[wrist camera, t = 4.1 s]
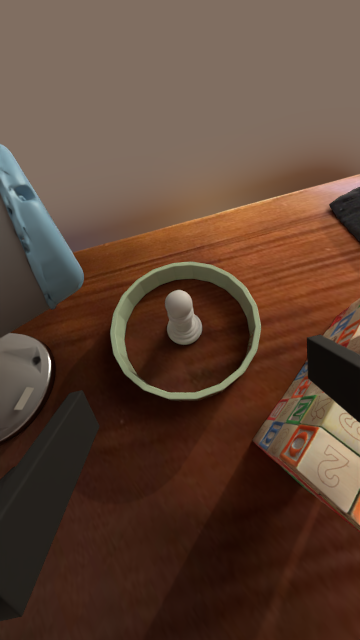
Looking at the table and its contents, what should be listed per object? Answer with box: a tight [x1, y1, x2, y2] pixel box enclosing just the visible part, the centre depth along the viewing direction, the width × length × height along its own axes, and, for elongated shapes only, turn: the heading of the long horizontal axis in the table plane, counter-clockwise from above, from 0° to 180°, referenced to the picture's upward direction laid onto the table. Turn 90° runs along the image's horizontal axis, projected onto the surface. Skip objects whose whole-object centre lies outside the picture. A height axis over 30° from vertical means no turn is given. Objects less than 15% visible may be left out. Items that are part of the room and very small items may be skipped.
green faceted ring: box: [110, 262, 261, 401], centre depth 28 cm, size 20×20×4 cm
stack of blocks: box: [253, 298, 360, 532], centre depth 19 cm, size 21×6×12 cm, turn 138°
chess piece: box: [165, 290, 202, 345], centre depth 26 cm, size 5×5×9 cm
